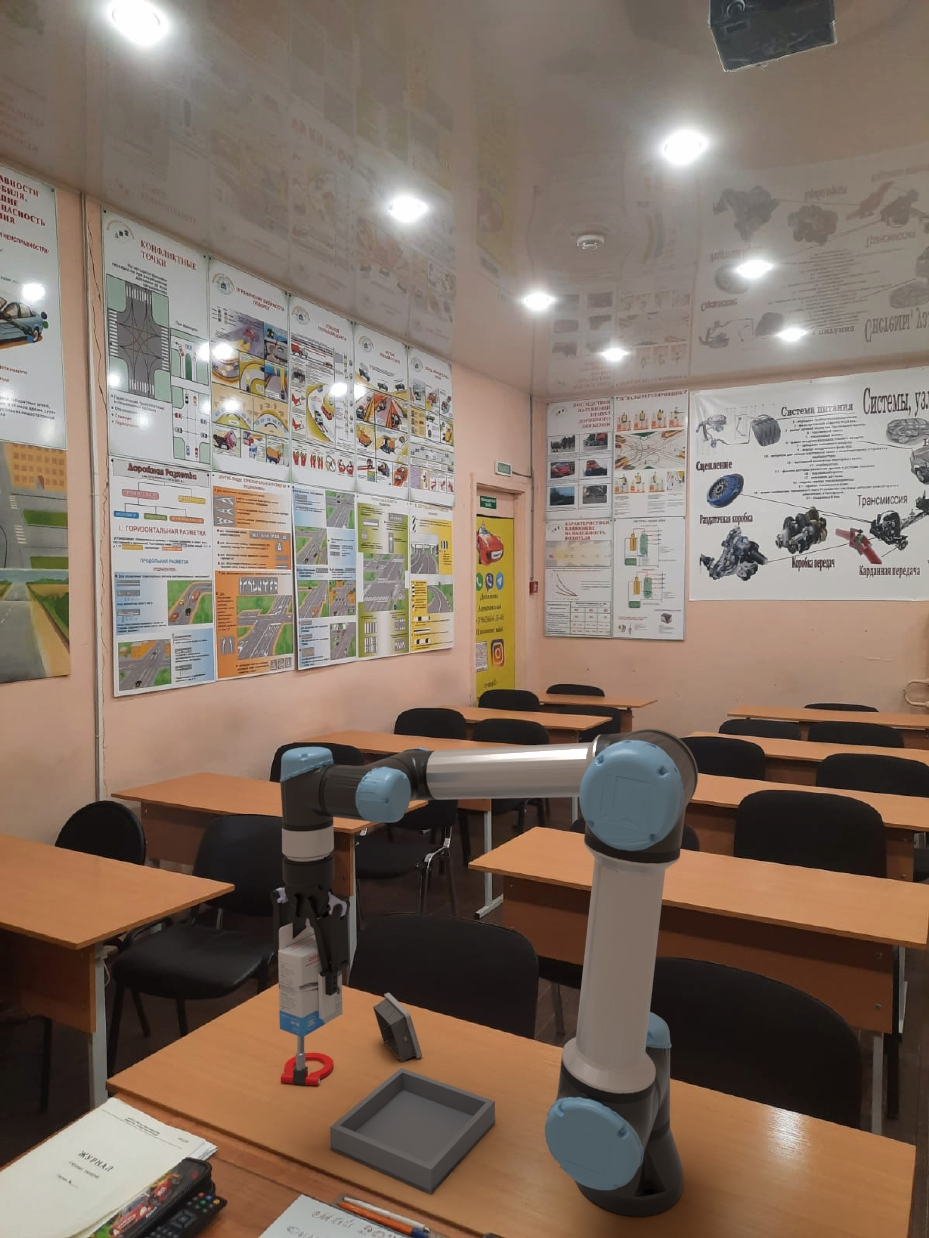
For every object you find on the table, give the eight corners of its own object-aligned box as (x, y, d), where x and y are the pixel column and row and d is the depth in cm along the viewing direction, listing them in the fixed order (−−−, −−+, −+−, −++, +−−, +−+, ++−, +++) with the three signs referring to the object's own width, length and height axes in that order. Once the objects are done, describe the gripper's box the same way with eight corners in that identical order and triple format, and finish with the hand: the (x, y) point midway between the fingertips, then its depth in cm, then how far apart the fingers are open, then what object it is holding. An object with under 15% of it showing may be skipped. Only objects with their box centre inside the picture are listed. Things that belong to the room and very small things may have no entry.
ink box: (302, 1039, 116) (299, 936, 116) (278, 1029, 119) (276, 928, 119) (344, 1014, 123) (342, 916, 123) (320, 1005, 126) (318, 910, 126)
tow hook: (294, 1056, 148) (274, 1084, 139) (295, 984, 148) (275, 1007, 139) (339, 1060, 147) (322, 1088, 137) (340, 987, 147) (323, 1010, 138)
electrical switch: (423, 1059, 146) (418, 1008, 146) (397, 1070, 144) (392, 1019, 143) (400, 1035, 154) (395, 987, 154) (375, 1045, 152) (370, 997, 151)
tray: (494, 1122, 128) (494, 1100, 128) (431, 1194, 113) (431, 1169, 113) (401, 1088, 137) (400, 1067, 137) (330, 1149, 122) (330, 1126, 122)
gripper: (373, 855, 119) (376, 1013, 120) (280, 839, 129) (283, 986, 129) (340, 869, 113) (343, 1037, 113) (245, 851, 122) (248, 1006, 123)
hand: (311, 1009), depth 121 cm, fingers closed on ink box, 5 cm apart
